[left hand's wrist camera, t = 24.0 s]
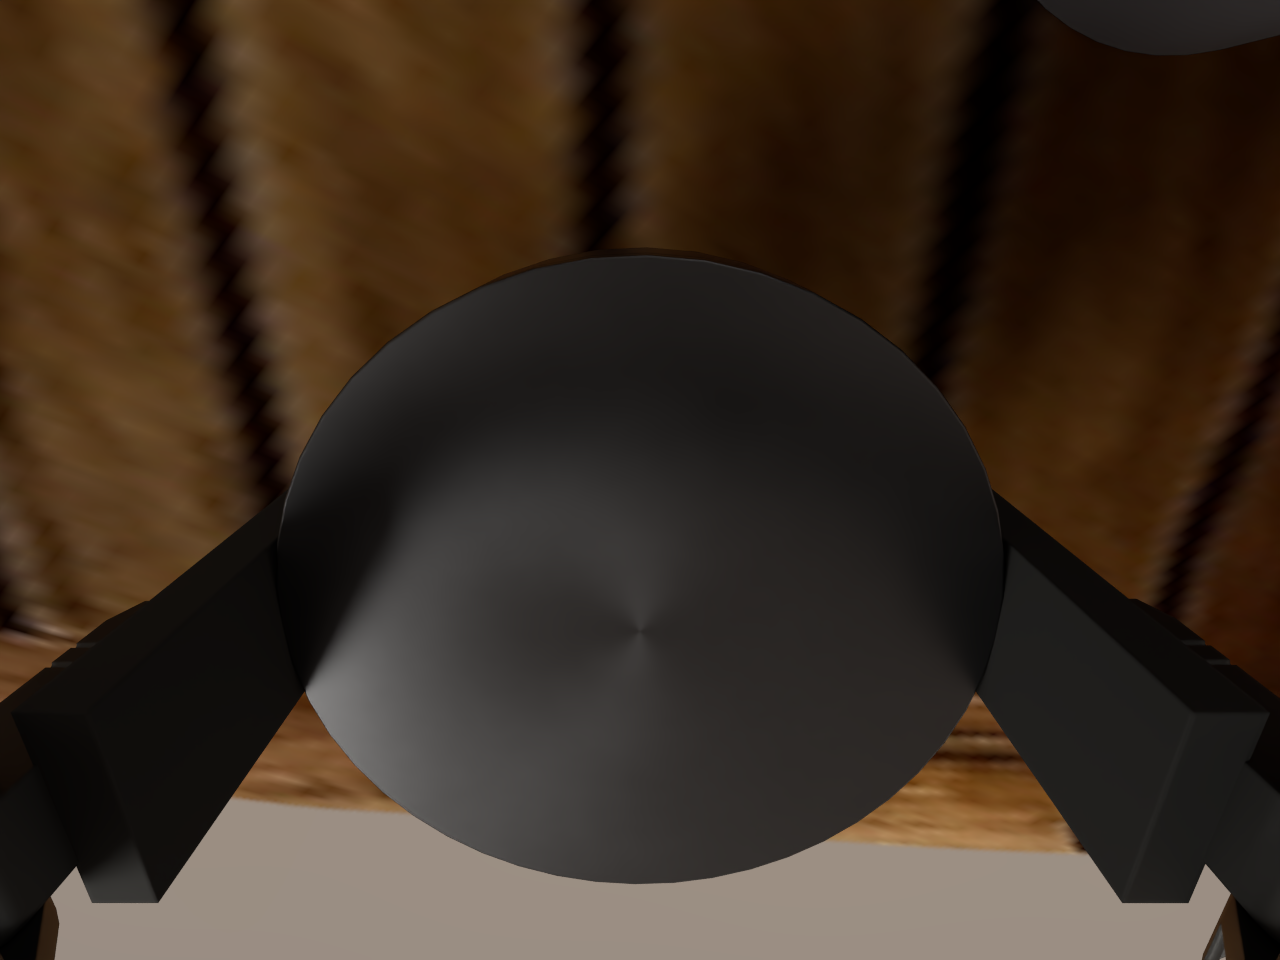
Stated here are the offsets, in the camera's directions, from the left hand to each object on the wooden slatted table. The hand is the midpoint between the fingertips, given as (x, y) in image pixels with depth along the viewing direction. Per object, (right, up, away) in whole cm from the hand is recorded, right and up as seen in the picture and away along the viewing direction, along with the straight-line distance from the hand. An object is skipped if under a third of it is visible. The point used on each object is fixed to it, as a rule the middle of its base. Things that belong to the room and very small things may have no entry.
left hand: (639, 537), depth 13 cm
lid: (0, -1, -2) cm, 3 cm away
